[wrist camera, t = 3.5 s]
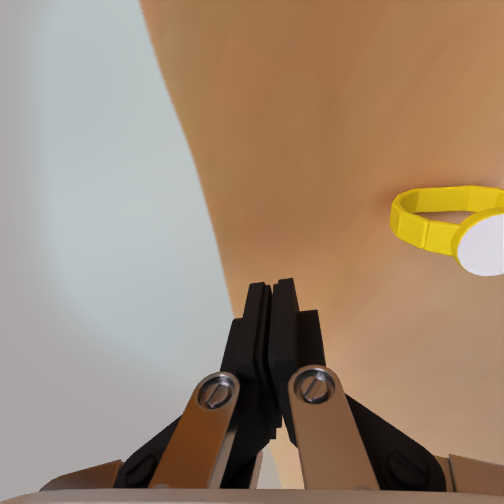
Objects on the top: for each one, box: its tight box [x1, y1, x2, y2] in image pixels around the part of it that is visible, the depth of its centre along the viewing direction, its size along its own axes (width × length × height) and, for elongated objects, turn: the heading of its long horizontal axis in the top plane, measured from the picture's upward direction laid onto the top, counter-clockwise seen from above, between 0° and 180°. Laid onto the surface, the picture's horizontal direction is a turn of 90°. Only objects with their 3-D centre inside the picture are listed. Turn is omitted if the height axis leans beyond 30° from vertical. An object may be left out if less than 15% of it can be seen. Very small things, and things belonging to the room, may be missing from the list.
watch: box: [390, 185, 504, 276], centre depth 14 cm, size 6×3×6 cm, turn 97°
